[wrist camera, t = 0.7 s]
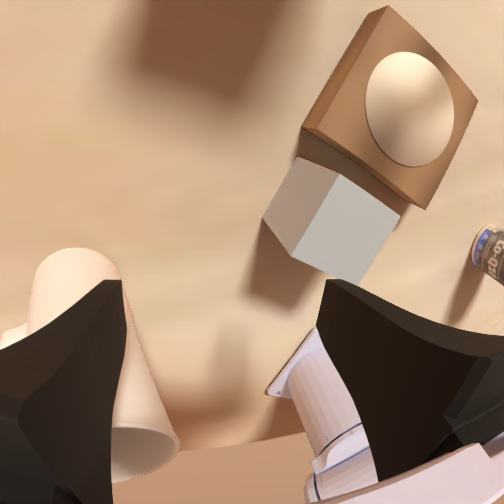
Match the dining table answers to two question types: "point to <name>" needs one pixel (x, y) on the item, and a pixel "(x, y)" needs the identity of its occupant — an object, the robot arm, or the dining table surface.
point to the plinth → (394, 107)
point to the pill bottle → (490, 252)
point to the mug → (133, 368)
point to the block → (329, 221)
